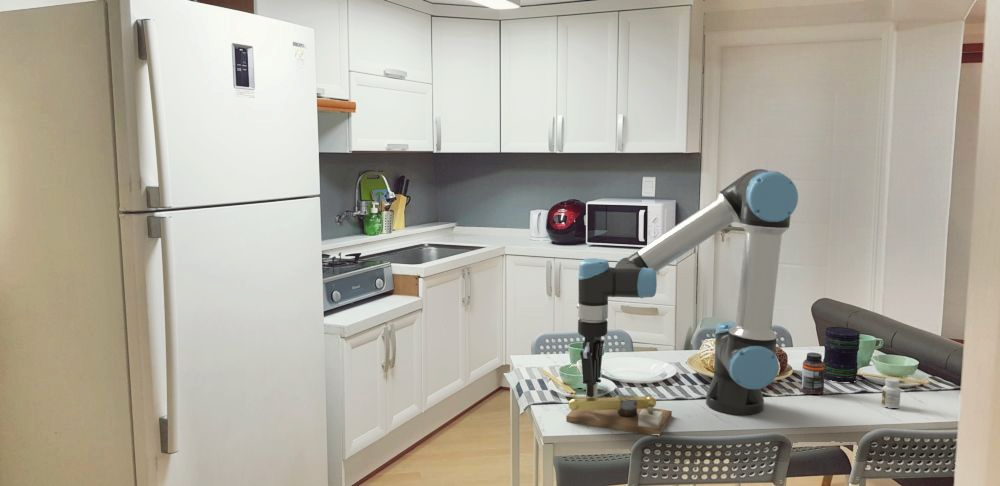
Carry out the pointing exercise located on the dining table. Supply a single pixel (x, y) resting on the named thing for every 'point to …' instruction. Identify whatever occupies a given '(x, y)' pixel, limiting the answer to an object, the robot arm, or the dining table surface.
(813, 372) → the supplement bottle
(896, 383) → the pill bottle
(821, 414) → the dining table surface
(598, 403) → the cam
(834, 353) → the storage jar
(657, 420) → the stand
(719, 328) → the robot arm
